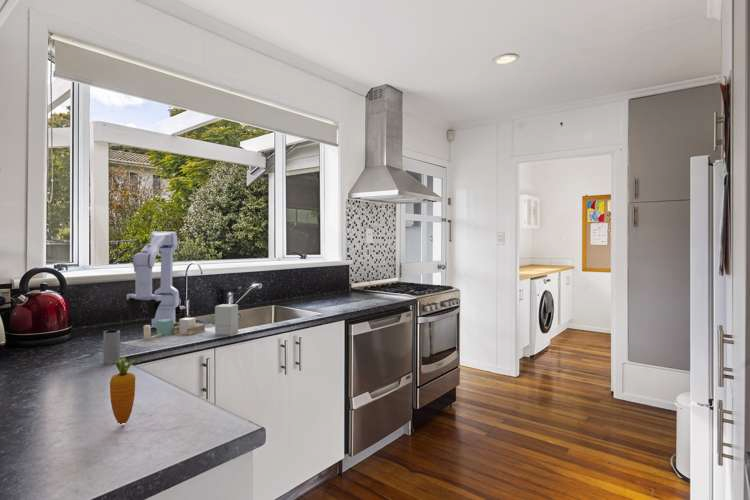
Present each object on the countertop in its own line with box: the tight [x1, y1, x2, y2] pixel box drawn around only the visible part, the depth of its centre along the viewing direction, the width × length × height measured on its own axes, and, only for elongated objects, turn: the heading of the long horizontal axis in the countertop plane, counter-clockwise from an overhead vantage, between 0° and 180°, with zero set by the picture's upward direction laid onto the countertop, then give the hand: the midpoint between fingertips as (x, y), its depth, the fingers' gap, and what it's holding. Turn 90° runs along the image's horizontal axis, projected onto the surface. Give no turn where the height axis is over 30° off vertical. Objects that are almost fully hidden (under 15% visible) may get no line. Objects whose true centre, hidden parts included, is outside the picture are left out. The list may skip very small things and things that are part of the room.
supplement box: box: [214, 303, 239, 337], centre depth 180 cm, size 7×7×13 cm
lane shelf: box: [172, 321, 206, 336], centre depth 181 cm, size 15×10×3 cm, turn 76°
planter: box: [103, 329, 121, 365], centre depth 137 cm, size 4×4×10 cm
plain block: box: [178, 317, 197, 334], centre depth 179 cm, size 4×4×6 cm
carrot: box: [109, 357, 136, 424], centre depth 90 cm, size 5×5×15 cm
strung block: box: [143, 319, 174, 341], centre depth 172 cm, size 4×13×6 cm, turn 165°
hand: (143, 318), depth 165 cm, fingers open, 7 cm apart
